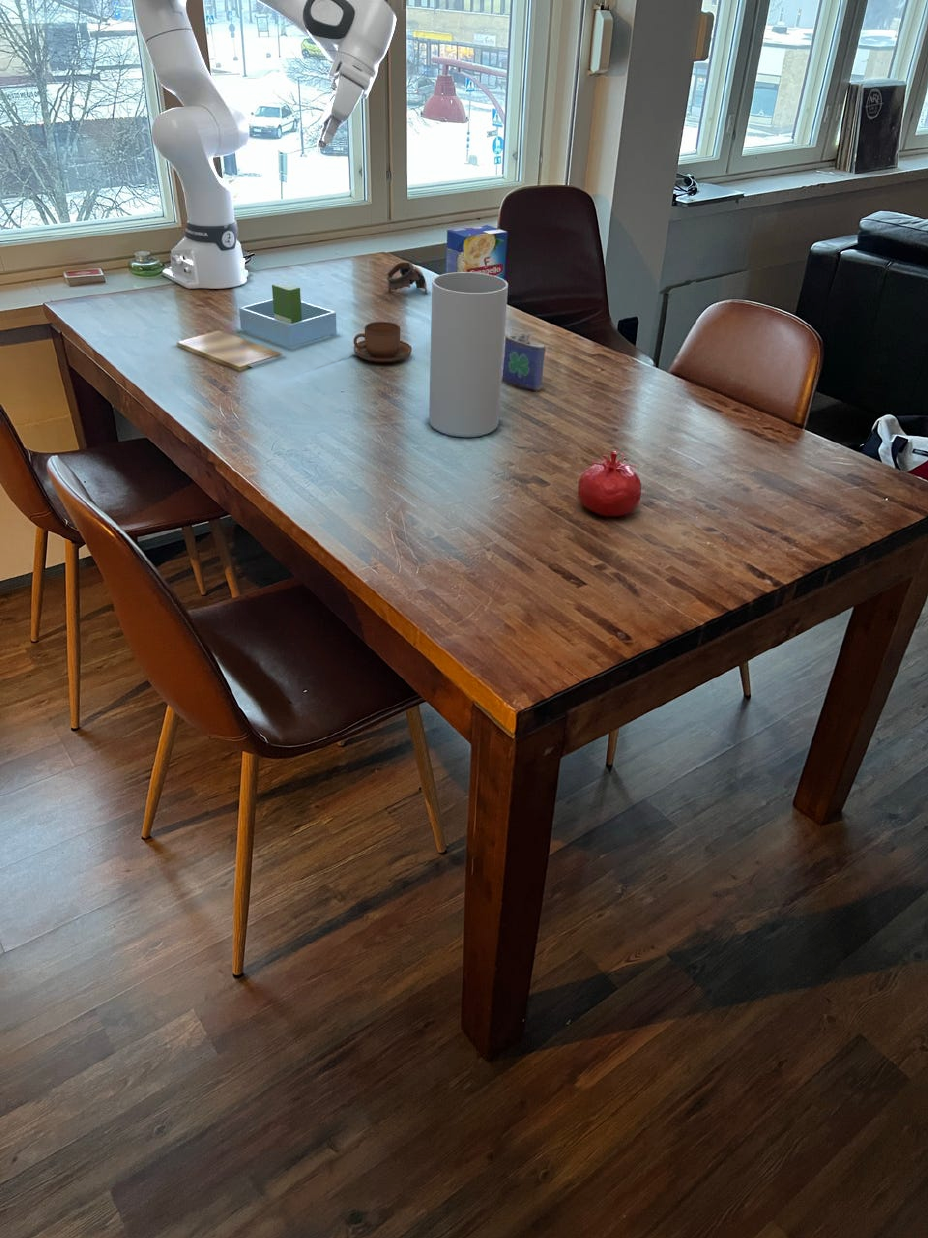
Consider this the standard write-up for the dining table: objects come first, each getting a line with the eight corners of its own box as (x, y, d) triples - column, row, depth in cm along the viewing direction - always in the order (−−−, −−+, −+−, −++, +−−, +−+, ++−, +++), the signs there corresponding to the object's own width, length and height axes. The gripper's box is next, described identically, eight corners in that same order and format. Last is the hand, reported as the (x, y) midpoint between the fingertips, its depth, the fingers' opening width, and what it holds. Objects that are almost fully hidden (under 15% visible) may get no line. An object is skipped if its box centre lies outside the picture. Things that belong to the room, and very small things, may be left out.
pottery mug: (432, 299, 230) (417, 271, 224) (397, 314, 232) (382, 287, 226) (428, 273, 237) (414, 246, 231) (395, 288, 240) (380, 262, 234)
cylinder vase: (464, 405, 175) (470, 268, 160) (512, 426, 167) (523, 284, 153) (414, 422, 167) (416, 279, 153) (463, 445, 160) (469, 298, 146)
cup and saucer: (377, 371, 187) (376, 341, 183) (342, 354, 194) (341, 324, 191) (423, 359, 194) (423, 330, 190) (388, 343, 201) (388, 314, 197)
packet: (274, 329, 203) (271, 284, 197) (285, 325, 205) (282, 281, 199) (292, 335, 200) (289, 290, 195) (302, 332, 202) (300, 287, 197)
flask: (544, 389, 183) (548, 335, 177) (535, 393, 181) (539, 339, 175) (507, 377, 187) (510, 324, 181) (498, 381, 186) (501, 327, 179)
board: (177, 346, 194) (176, 341, 193) (219, 334, 201) (218, 330, 200) (240, 371, 184) (239, 366, 183) (282, 357, 191) (281, 353, 190)
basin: (241, 332, 203) (238, 307, 200) (286, 319, 211) (285, 295, 208) (291, 350, 195) (290, 325, 192) (336, 336, 203) (336, 311, 200)
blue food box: (500, 334, 209) (507, 231, 196) (461, 342, 203) (466, 237, 190) (482, 326, 213) (487, 224, 200) (443, 333, 208) (446, 229, 195)
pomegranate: (595, 528, 138) (603, 472, 133) (563, 498, 146) (570, 443, 140) (651, 517, 142) (662, 462, 136) (617, 489, 149) (626, 435, 144)
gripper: (330, 78, 199) (304, 141, 202) (343, 60, 181) (314, 130, 184) (356, 95, 202) (330, 157, 205) (372, 79, 183) (343, 147, 186)
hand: (323, 144), depth 194 cm, fingers open, 8 cm apart
